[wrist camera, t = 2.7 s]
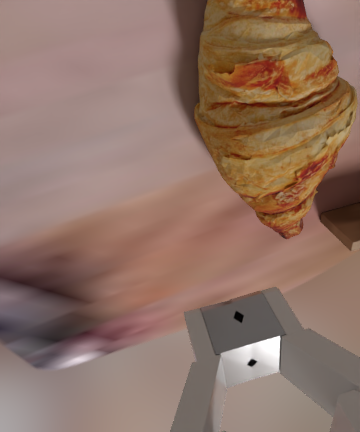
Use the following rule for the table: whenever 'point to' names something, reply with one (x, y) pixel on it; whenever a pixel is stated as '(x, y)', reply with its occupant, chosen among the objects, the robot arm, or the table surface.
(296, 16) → the croissant
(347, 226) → the frame
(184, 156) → the table surface
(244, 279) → the table surface
